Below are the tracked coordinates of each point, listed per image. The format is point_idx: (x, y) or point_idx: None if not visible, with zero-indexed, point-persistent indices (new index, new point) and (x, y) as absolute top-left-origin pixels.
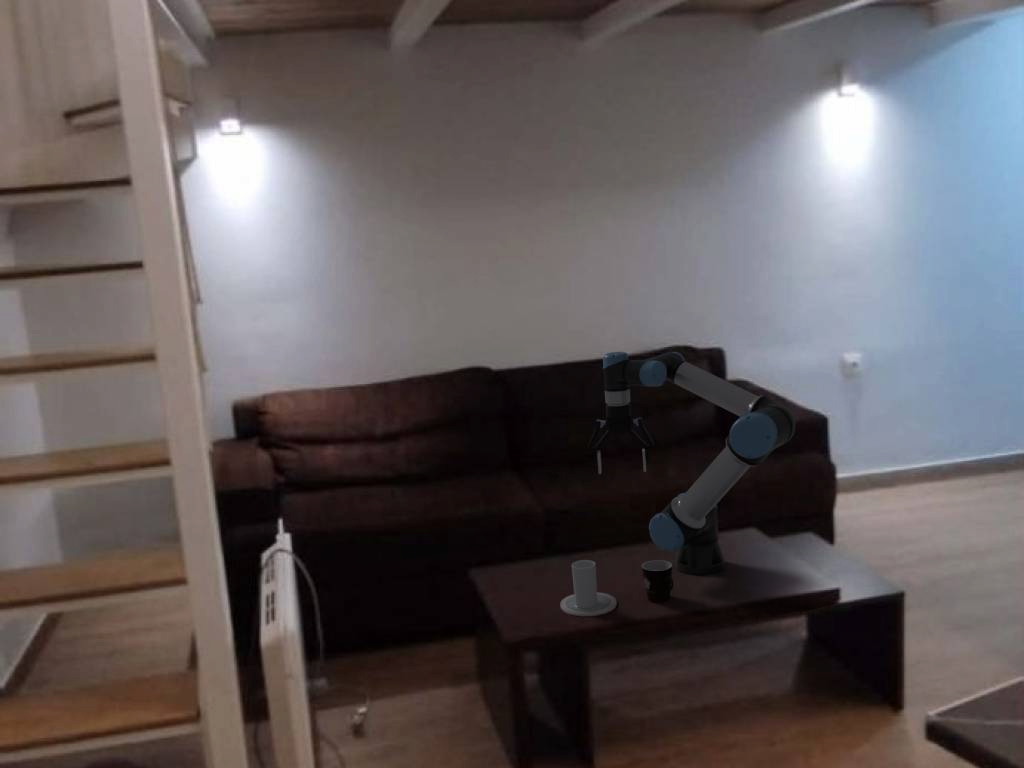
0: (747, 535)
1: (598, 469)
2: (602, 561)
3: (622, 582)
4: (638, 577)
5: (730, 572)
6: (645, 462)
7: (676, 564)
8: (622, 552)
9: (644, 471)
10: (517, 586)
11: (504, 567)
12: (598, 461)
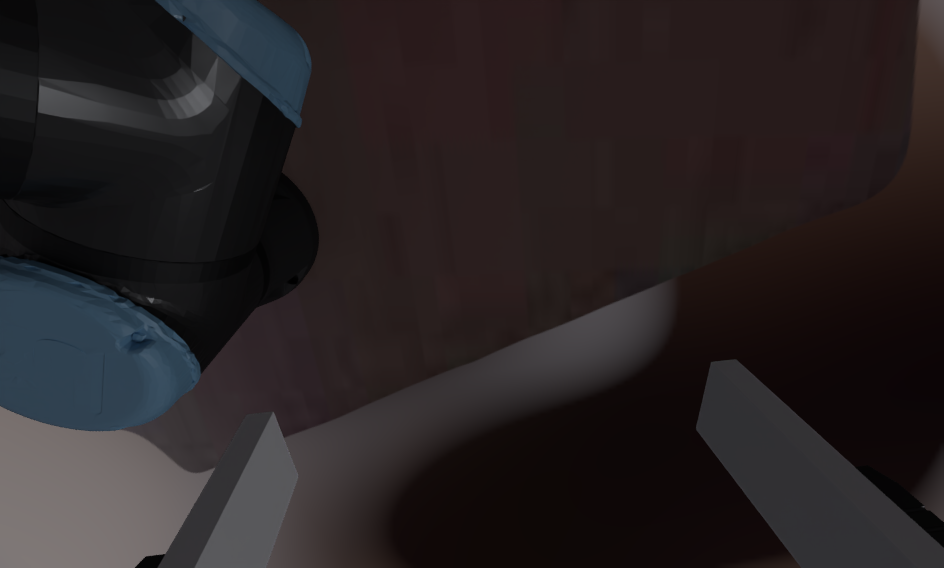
0: (182, 445)
1: (768, 389)
2: (539, 259)
3: (463, 77)
4: (416, 126)
5: None
6: (192, 511)
7: (303, 205)
8: (488, 325)
9: (262, 415)
10: (807, 31)
11: (819, 203)
12: (847, 470)
